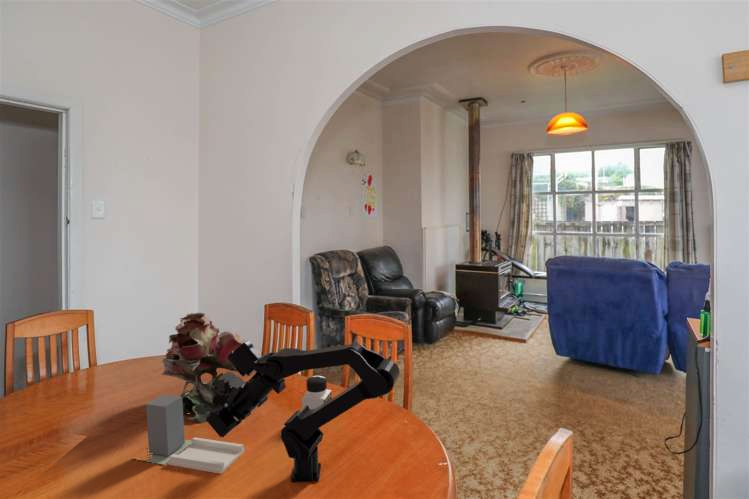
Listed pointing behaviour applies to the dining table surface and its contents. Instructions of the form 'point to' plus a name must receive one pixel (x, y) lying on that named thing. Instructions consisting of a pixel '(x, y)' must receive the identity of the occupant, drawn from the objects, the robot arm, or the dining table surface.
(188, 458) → the off-white chute
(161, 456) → the sage mat
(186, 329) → the rose bouquet
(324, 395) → the medicine bottle
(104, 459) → the dining table surface
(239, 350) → the robot arm
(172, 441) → the gray block
